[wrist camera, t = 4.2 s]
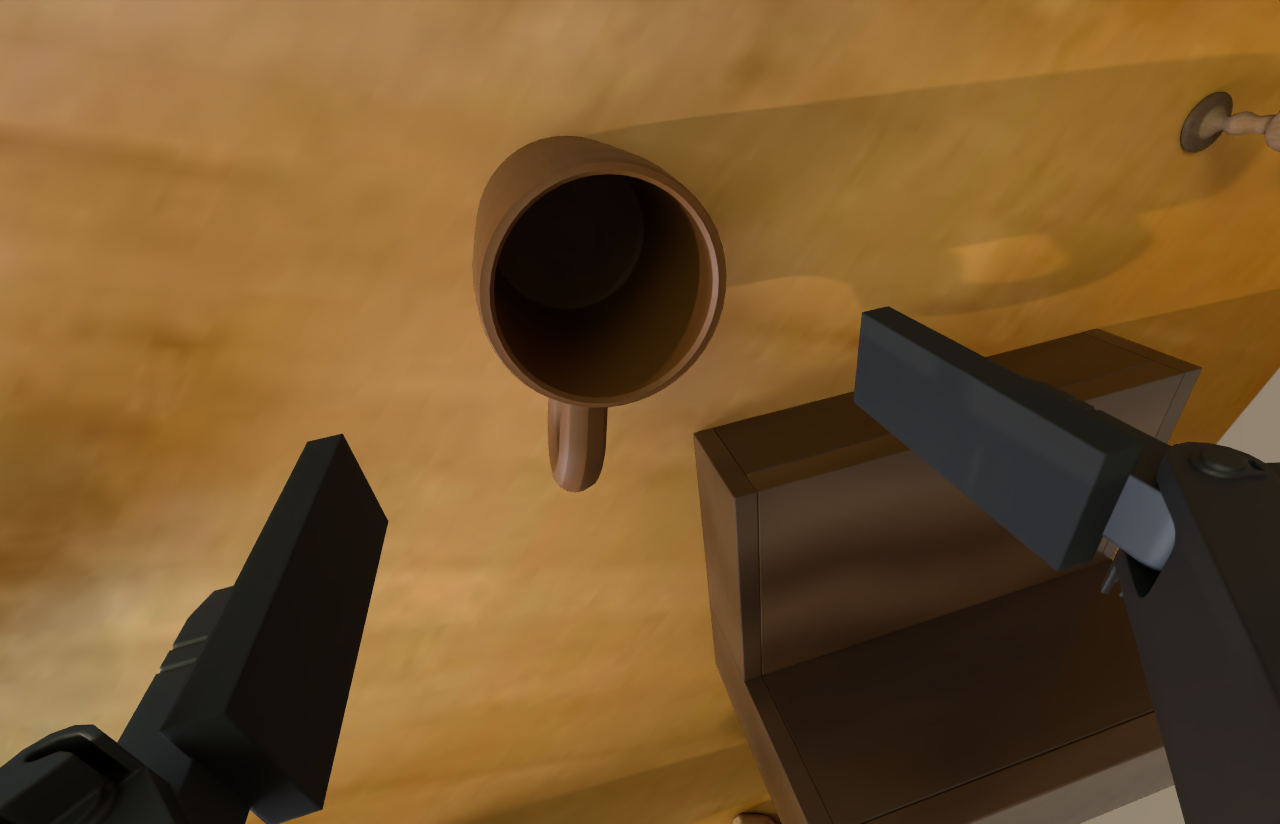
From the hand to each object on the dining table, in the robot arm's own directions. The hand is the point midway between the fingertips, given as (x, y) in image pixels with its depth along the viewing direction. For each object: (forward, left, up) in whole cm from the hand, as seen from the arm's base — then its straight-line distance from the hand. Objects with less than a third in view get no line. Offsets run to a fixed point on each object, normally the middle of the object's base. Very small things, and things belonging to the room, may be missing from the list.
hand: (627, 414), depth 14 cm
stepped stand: (+19, -21, -13) cm, 31 cm away
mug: (0, 0, -13) cm, 13 cm away
